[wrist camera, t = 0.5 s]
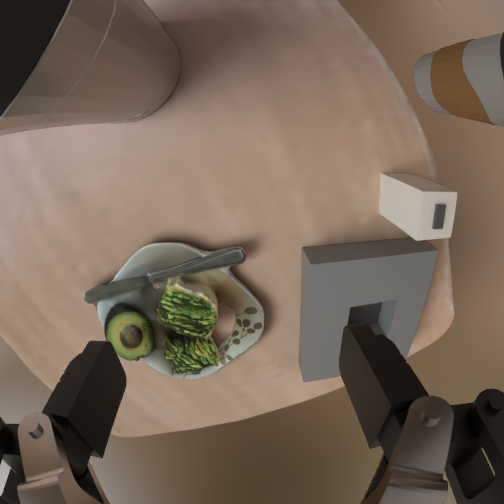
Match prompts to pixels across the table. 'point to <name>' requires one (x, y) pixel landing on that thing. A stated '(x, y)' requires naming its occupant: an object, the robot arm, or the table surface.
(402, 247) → the outlet box
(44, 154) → the table surface
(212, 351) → the avocado toast plate
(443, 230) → the block
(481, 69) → the coffee cup
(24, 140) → the table surface
